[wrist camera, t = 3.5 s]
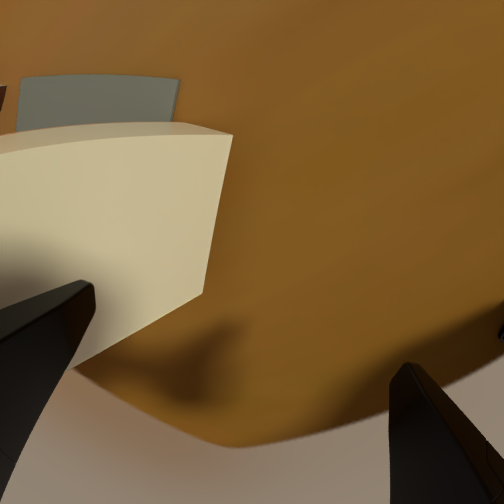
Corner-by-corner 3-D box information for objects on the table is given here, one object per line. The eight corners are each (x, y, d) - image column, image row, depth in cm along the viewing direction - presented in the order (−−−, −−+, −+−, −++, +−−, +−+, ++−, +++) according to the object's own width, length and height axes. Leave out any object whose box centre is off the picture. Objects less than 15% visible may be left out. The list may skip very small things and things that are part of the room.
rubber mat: (180, 80, 12) (178, 79, 12) (152, 292, 18) (150, 295, 17) (24, 77, 12) (21, 78, 12) (24, 247, 18) (22, 249, 18)
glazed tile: (233, 135, 12) (-36, 162, 4) (202, 293, 16) (27, 392, 8) (182, 122, 13) (-41, 143, 5) (162, 266, 17) (0, 342, 9)
